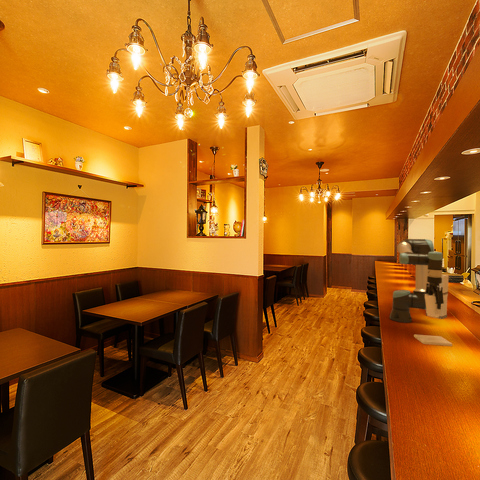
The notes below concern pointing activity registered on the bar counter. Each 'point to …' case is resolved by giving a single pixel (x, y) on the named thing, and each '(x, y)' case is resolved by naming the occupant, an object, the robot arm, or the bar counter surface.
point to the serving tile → (432, 340)
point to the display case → (445, 294)
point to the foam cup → (431, 305)
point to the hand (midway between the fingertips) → (433, 311)
